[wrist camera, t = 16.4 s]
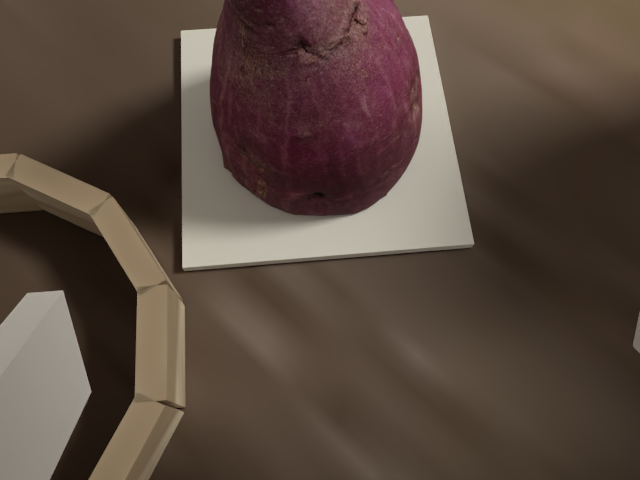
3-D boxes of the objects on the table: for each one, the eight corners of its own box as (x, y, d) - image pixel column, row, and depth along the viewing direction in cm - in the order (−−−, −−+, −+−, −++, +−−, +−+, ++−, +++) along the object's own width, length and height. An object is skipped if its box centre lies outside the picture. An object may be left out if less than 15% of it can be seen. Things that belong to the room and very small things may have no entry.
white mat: (426, 21, 33) (427, 15, 32) (471, 247, 28) (474, 243, 27) (182, 36, 32) (181, 30, 31) (184, 271, 27) (182, 267, 26)
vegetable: (264, 255, 30) (112, 183, 16) (213, 86, 32) (39, -116, 18) (453, 188, 29) (481, 41, 14) (387, 17, 31) (353, -262, 16)
